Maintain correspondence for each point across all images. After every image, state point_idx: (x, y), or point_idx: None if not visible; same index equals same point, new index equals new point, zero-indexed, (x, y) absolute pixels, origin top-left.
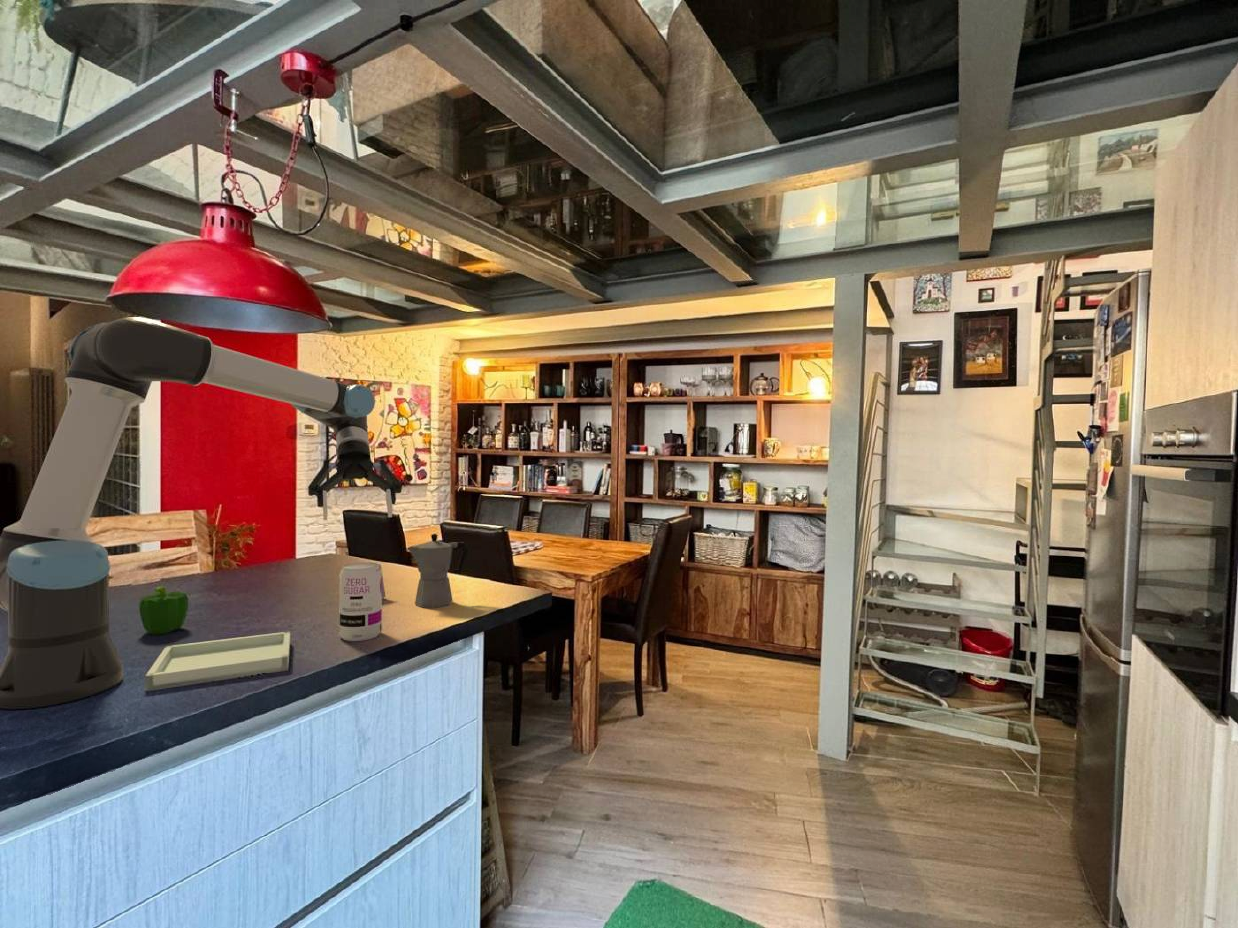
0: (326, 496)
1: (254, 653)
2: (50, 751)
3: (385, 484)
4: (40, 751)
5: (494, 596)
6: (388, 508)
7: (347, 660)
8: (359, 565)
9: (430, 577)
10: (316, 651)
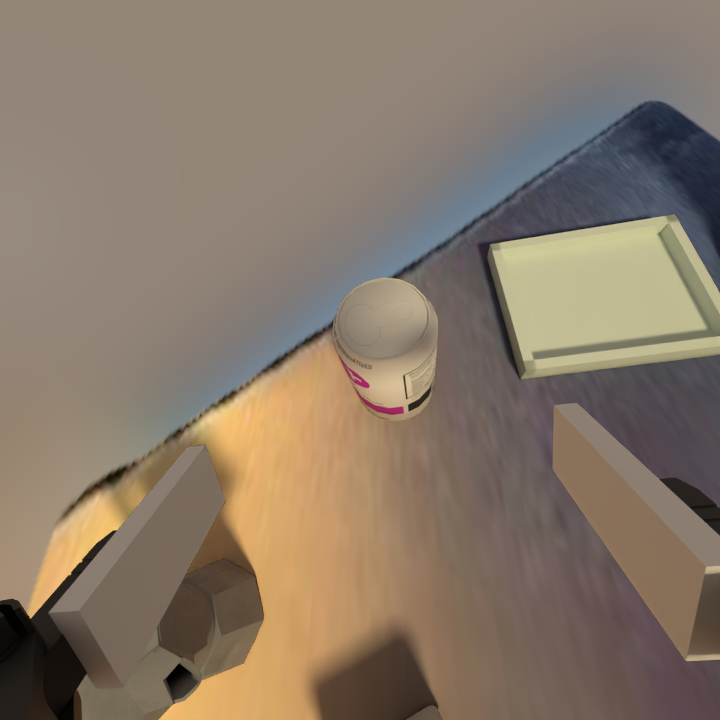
0: (647, 500)
1: (562, 317)
2: (657, 122)
3: (22, 703)
4: (668, 123)
5: None
6: (198, 485)
7: (409, 274)
8: (386, 330)
9: (191, 588)
10: (462, 324)
